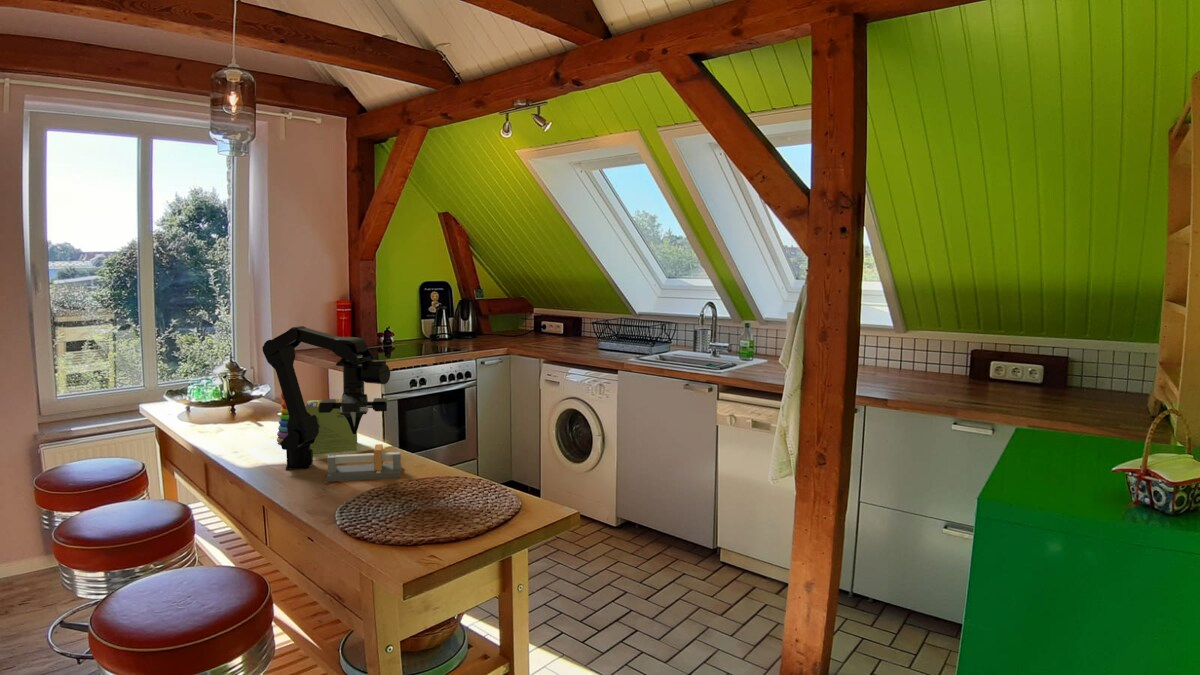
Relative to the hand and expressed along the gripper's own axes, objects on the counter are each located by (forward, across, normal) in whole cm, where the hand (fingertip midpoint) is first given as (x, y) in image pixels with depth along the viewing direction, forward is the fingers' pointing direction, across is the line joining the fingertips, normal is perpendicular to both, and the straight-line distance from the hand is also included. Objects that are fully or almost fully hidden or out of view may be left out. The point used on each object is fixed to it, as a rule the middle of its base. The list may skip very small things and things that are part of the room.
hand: (354, 433), depth 198 cm
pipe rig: (+12, +3, -2) cm, 12 cm away
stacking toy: (+12, -26, +37) cm, 46 cm away
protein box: (+12, -10, +27) cm, 31 cm away
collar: (+10, +7, -2) cm, 12 cm away
